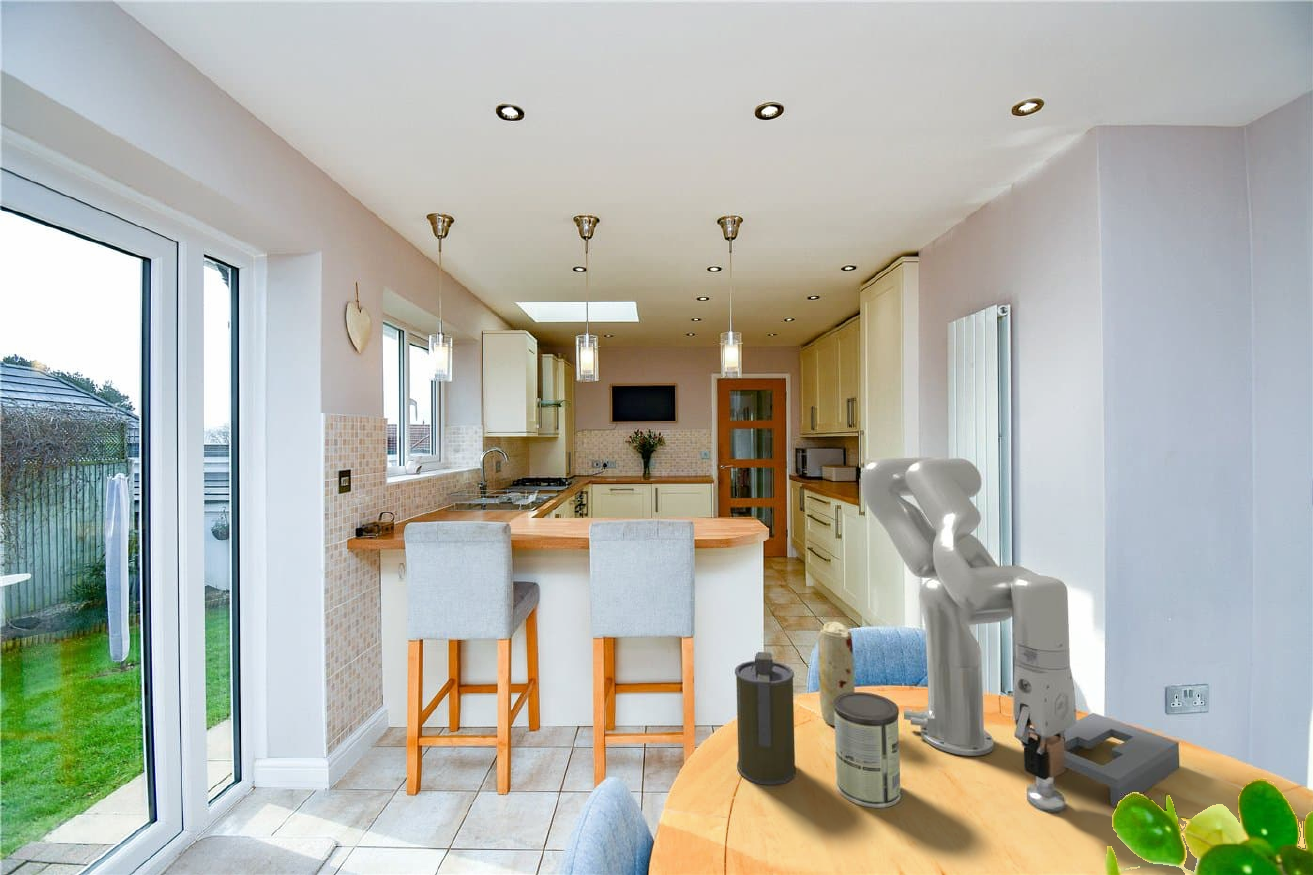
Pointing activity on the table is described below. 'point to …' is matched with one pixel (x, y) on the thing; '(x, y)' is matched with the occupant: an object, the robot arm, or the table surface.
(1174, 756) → the keyhole board
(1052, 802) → the peg
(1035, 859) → the table surface
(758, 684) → the canister
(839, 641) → the food model
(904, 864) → the table surface
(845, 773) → the coffee can
